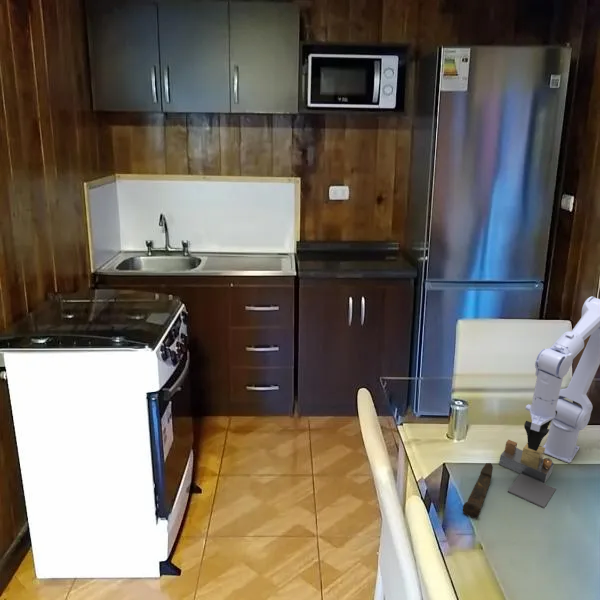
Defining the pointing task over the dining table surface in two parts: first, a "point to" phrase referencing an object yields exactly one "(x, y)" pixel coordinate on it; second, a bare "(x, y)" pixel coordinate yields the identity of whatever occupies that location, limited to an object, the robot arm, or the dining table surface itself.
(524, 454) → the tan cube
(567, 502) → the dining table surface
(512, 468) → the body
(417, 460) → the dining table surface
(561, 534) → the dining table surface
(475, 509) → the hand tool
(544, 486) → the mat
